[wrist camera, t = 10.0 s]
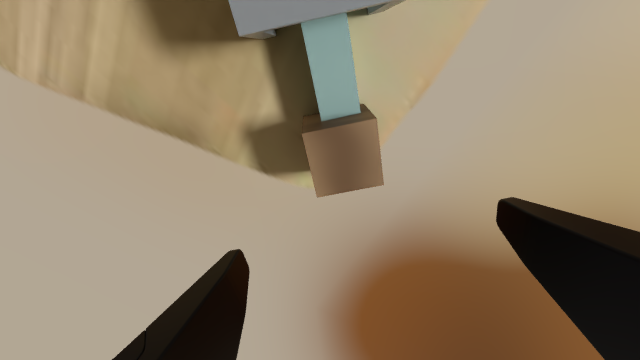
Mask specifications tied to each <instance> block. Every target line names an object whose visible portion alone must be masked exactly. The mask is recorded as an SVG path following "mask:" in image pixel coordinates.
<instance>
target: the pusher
mask: <svg viewBox="0 0 640 360" xmlns="http://www.w3.org/2000/svg"><path fill="white" fill-rule="evenodd" d="M301 27H302V31H303V36H304V41H305V46H306V50H307V55H308V60H309V65H310V69H311V74H312V79H313V84H314V88H315V93H316V98H317V103H318V107H319V112H320V117H321V121H326V120H330V119H335V118H340V117H344V116H349V115H354V114H358V113H361V111H360V104H359V97H358V90H357V83H356V76H355V69H354V61H353V54H352V47H351V40H350V33H349V26H348V19H347V13H342V14H338V15H334V16H329V17H325V18H321V19H317V20H312V21H308V22H304V23H301Z"/></svg>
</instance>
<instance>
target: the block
mask: <svg viewBox="0 0 640 360" xmlns="http://www.w3.org/2000/svg"><path fill="white" fill-rule="evenodd" d="M360 111H361V113H358V114H354V115H349V116H344V117H340V118H335V119H330V120H326V121H321V117H320V113H317V114H312V115H307V116H304V118H303V127H302V137H303V141H304V145H305V149H306V154H307V158H308V162H309V166H310V170H311V174H312V178H313V183H314V187H315V191H316V195H317V197H322V196H328V195H333V194H338V193H343V192H349V191H354V190H359V189H364V188H370V187H375V186H380V185H384V182H383V173H382V163H381V154H380V144H379V135H378V125H377V118H376V117H375V116H374V115H373V114H372V113H371V111H370V110H369V109H368V108H367V107H366V106H365V105H364V104H360Z"/></svg>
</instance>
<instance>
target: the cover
mask: <svg viewBox="0 0 640 360" xmlns="http://www.w3.org/2000/svg"><path fill="white" fill-rule="evenodd" d="M228 1H229V4H230V8H231V11H232V14H233V18H234V21H235V24H236V28H237V31H238V34H239V36H241V37H248V38H255V39H266V38H270V37H274V36H277V35H276V31H275V29H278V28H282V27H287V26H291V25H295V24H299V23H304V22H308V21H312V20H317V19H321V18H325V17H329V16H334V15H338V14H342V13H347V12H351V11H355V10H359V9H364V8H367V11H368V15H369V14H374V13H378V12H382V11H385V10H387V9H389V8H391V7H393V6H395V5H397V4H399V3H401V2H403V1H405V0H228Z"/></svg>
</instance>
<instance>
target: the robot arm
mask: <svg viewBox="0 0 640 360" xmlns="http://www.w3.org/2000/svg"><path fill="white" fill-rule="evenodd" d="M496 222H497V225H498V227H499V229H500V230H501V231H502V233H503V234H504V236H505V237H506V239H507V240H508V241H509V243H510V245H511V246H512V248H513V249H514V250H515V252H516V253H517V255H518V256H519V258H520V259H521V260H522V262H523V263H524V265H525V266H526V267H527V268H528V270H529V271H530V272H531V273H532V274H533V276H534V277H535V278H536V279H537V280H538V281H539V283H541V285H542V286H543V287H544V289H545V290H546V291H547V292H548V293H549V294H550V296H551V297H552V298H553V299H554V300H555V302H556V303H557V304H558V305H559V306H560V307H561V309H562V310H563V311H564V312H565V313H566V314H567V316H568V317H569V318H570V319H571V320H572V322H573V323H574V324H575V325H576V326H577V327H578V329H579V330H580V331H581V332H582V333H583V335H584V336H585V337H586V338H587V339H588V341H589V342H590V343H591V344H592V345H593V346H594V348H596V350H597V351H598V352H599V353H600V355H601V356H602V357H603V358H604V359H605V360H640V232H638V231H634V230H631V229H627V228H623V227H620V226H616V225H612V224H609V223H605V222H601V221H598V220H594V219H591V218H587V217H583V216H580V215H576V214H572V213H569V212H565V211H561V210H558V209H554V208H550V207H547V206H543V205H540V204H536V203H532V202H529V201H525V200H521V199H518V198H514V197H510V198H505V199H501V200H499V202H498V206H497V217H496ZM248 281H249V266H248V264H247V261H246V259H245V257H244V254H243V252H242V251H241V250H240V249H237V250H232V251H229V252H227V253H226V254H225V255H224V256H223V257H222V258H221V259H220V260H219V261H218V262H217V263H216V264H214V265H213V266H212V267H211V268H210V269H209V270H208V271H207V272H206V273H205V274H204V275H203V276H202V277H201V278H199V279H198V280H197V281H196V282H195V283H194V284H193V285H192V286H191V287H190V288H189V289H188V290H187V291H186V292H185V293H183V294H182V295H181V296H180V297H179V298H178V299H177V300H176V301H175V302H174V303H173V304H172V305H171V306H170V307H169V308H167V309H166V310H165V311H164V312H163V313H162V314H161V315H160V316H159V317H158V318H157V319H156V320H155V321H154V322H152V323H151V324H150V325H149V326H148V327H147V328H146V331H143V332H142V333H141V334H140V335H139V336H138V337H136V338H135V339H134V340H133V341H132V342H131V343H130V344H129V345H128V346H127V347H126V348H124V349H123V350H122V351H121V352H120V353H119V354H118V355H117V356H116V357H115V358H114V359H112V360H236V358H237V353H238V348H239V343H240V339H241V334H242V329H243V324H244V318H245V313H246V304H247V293H248Z"/></svg>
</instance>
